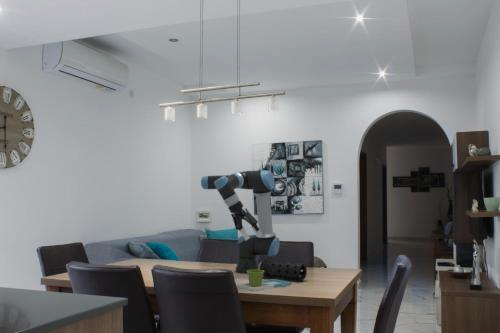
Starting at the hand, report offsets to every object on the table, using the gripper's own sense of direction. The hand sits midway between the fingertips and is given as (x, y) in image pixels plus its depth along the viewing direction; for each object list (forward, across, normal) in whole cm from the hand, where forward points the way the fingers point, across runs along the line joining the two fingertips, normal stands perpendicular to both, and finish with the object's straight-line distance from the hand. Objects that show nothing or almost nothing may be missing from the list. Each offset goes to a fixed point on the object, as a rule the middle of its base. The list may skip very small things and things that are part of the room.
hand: (253, 238), depth 268 cm
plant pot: (+23, -4, -12) cm, 26 cm away
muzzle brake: (+33, -18, +12) cm, 39 cm away
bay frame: (+25, -5, -6) cm, 27 cm away
